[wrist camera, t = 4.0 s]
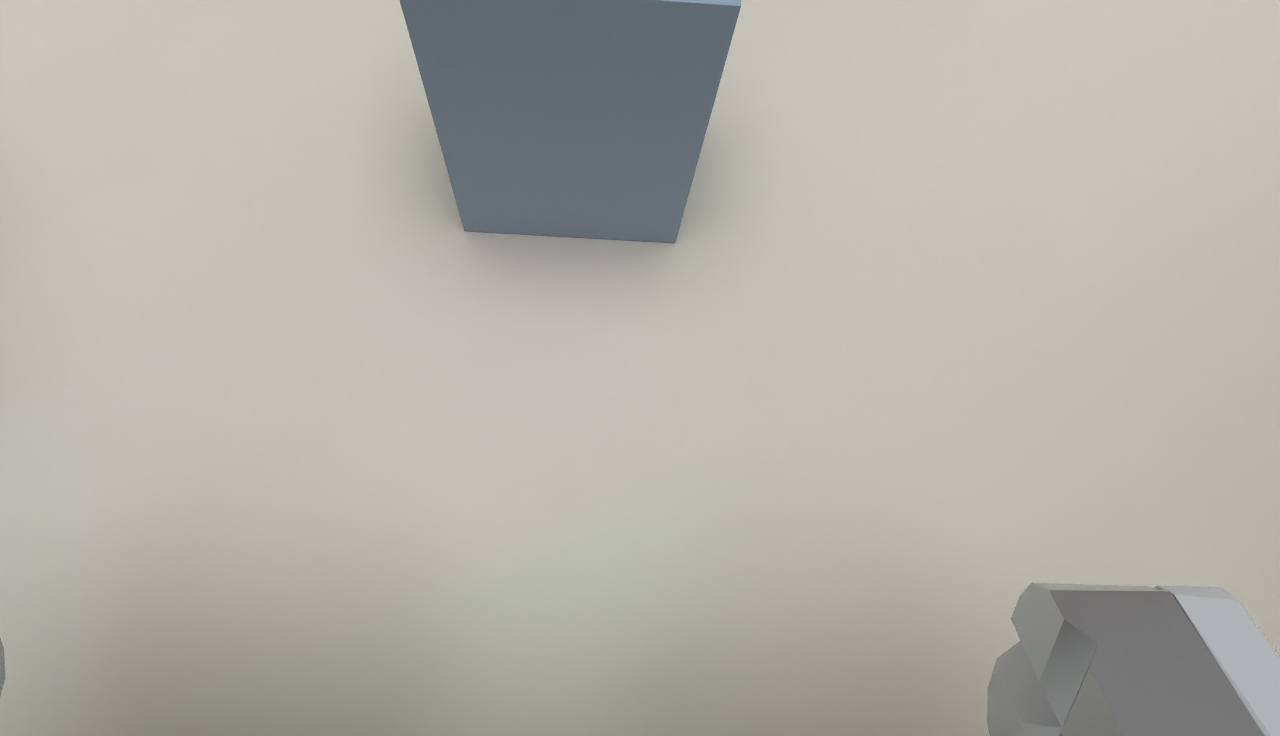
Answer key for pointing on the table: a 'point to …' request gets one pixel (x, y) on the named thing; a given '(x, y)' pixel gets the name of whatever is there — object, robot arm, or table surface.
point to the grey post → (571, 109)
